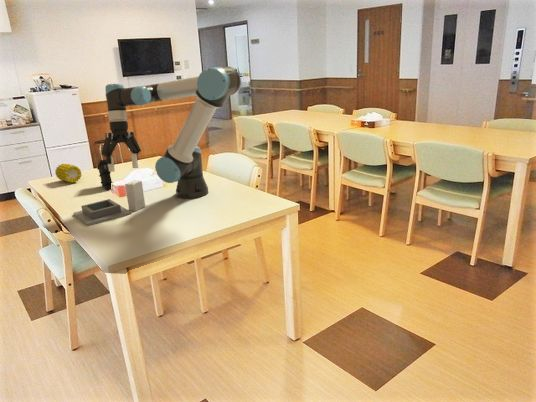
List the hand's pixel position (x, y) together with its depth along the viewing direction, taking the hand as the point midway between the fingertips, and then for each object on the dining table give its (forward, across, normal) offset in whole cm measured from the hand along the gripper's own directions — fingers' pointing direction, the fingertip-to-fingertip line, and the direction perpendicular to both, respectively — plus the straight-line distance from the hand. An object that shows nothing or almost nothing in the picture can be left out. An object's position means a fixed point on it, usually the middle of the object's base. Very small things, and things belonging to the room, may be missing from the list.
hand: (124, 169), depth 183 cm
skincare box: (+17, +2, +8) cm, 19 cm away
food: (+8, -17, -61) cm, 64 cm away
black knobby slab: (+11, -17, -32) cm, 38 cm away
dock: (+17, +14, -1) cm, 22 cm away
